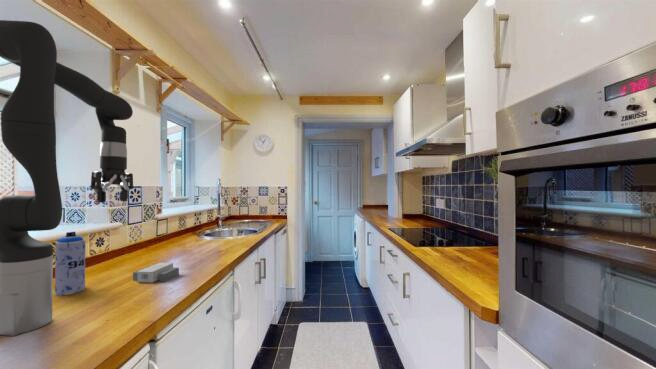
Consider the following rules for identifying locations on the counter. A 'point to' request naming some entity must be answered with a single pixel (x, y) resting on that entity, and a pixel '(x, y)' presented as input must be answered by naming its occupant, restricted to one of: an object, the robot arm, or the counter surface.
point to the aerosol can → (69, 264)
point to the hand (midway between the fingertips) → (113, 201)
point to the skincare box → (153, 272)
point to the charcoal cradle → (162, 274)
